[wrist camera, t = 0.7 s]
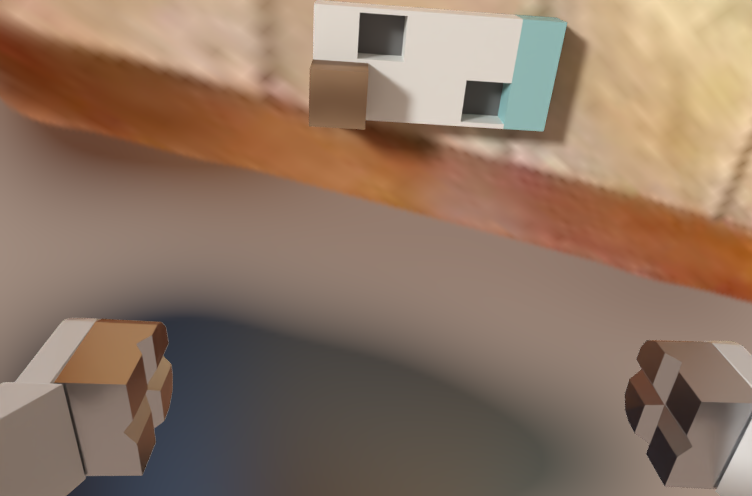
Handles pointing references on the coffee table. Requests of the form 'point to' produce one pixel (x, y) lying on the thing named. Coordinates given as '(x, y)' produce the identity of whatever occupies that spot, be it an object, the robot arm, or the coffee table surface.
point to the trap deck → (445, 62)
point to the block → (338, 94)
